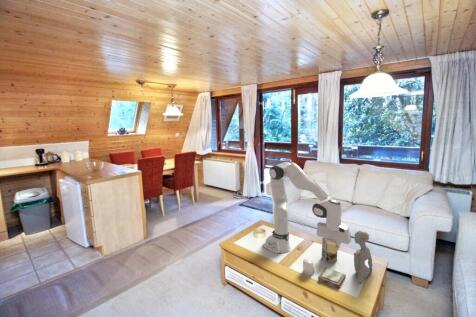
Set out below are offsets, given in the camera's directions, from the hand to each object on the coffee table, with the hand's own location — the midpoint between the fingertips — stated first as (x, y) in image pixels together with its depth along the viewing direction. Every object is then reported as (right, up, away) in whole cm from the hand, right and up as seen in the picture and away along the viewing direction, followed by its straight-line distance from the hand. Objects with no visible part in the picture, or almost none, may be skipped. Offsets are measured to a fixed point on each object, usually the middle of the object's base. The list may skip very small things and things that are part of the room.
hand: (332, 245), depth 152 cm
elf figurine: (+22, -22, +9) cm, 32 cm away
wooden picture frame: (+1, -23, +3) cm, 23 cm away
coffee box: (+8, -20, +26) cm, 33 cm away
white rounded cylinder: (-12, -22, +11) cm, 28 cm away
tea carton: (0, -3, +1) cm, 3 cm away
